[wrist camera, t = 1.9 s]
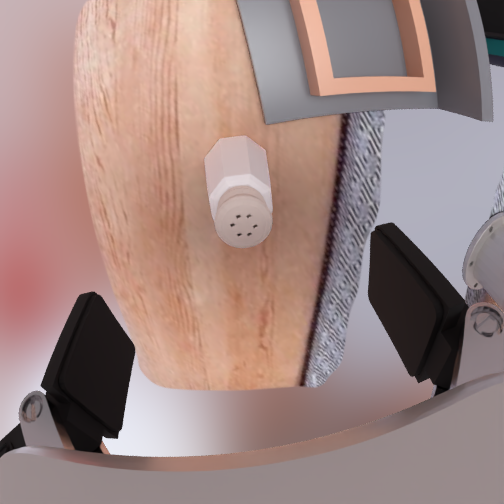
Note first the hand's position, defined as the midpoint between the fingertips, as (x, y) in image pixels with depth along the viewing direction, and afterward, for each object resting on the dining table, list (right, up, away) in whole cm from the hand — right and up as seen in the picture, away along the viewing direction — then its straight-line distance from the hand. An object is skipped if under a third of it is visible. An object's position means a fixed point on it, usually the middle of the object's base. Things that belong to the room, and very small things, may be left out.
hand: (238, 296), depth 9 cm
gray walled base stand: (+9, +19, +8) cm, 23 cm away
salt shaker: (-1, +9, +14) cm, 16 cm away
